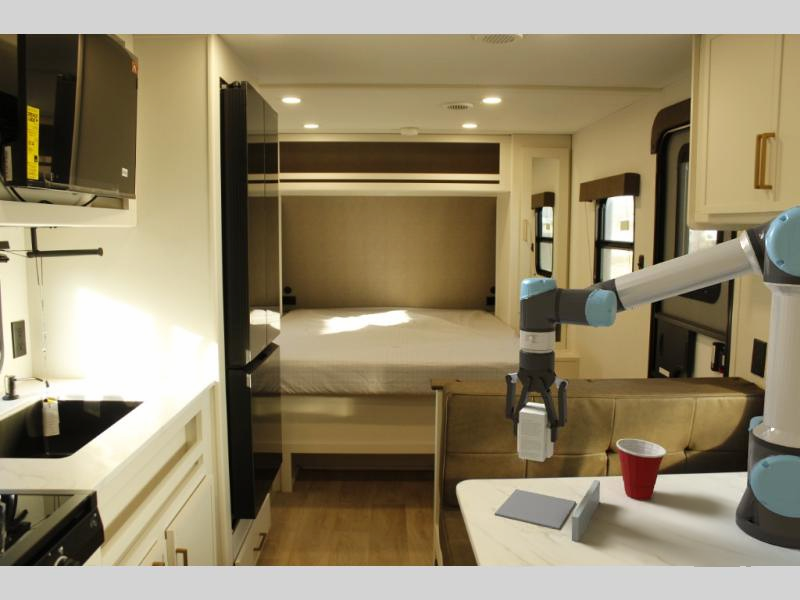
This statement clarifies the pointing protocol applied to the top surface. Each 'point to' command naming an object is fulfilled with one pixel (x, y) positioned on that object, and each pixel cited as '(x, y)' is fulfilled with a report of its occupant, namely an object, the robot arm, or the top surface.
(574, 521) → the low wall
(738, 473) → the top surface
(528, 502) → the mat
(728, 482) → the top surface
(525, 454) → the small box
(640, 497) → the plastic cup
